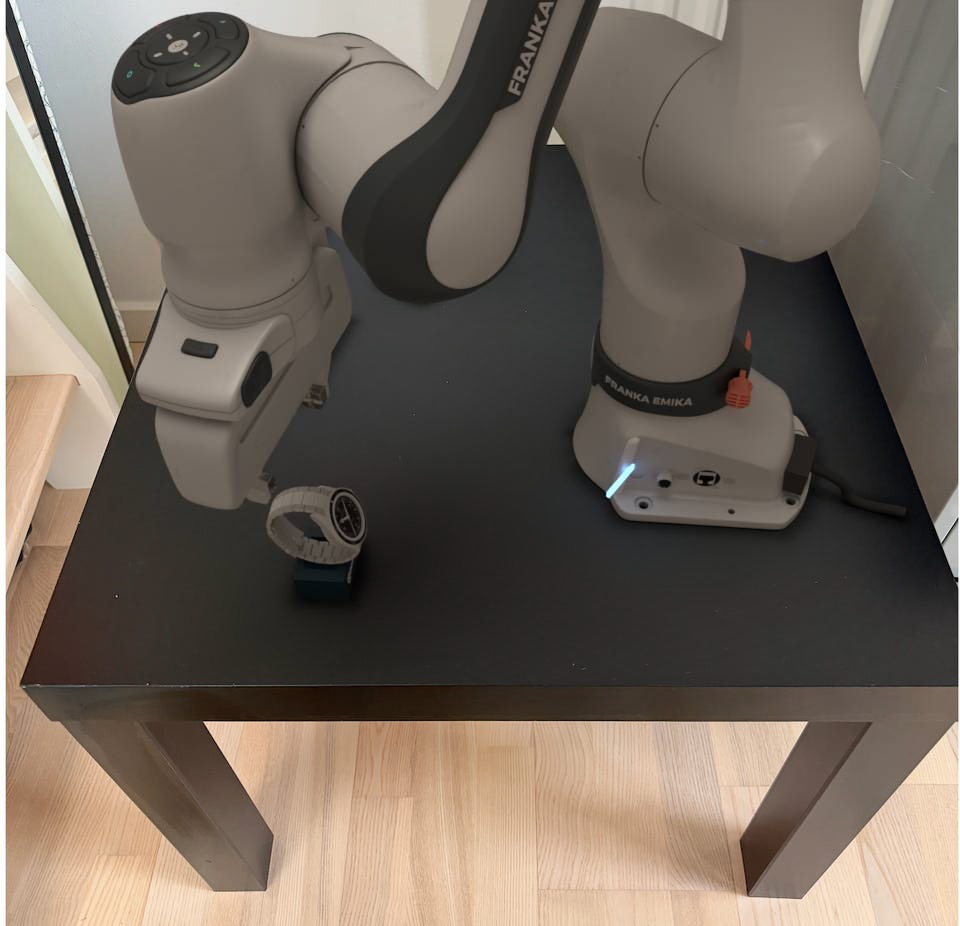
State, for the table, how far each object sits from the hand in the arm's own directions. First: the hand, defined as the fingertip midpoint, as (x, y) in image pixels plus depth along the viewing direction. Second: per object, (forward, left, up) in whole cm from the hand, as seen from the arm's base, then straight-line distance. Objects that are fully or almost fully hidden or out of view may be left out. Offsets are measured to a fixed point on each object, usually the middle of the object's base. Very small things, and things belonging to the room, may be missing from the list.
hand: (290, 446), depth 67 cm
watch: (0, 0, -18) cm, 18 cm away
